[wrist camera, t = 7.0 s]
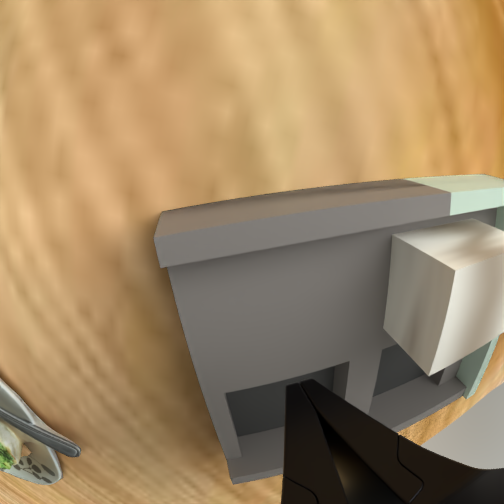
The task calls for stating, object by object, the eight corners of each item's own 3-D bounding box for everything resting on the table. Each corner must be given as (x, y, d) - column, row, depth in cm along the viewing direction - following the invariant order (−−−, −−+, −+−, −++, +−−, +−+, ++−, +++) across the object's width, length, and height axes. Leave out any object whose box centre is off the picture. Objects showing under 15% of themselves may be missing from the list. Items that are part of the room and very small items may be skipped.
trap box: (483, 174, 15) (531, 187, 11) (446, 366, 21) (474, 394, 17) (161, 211, 12) (151, 242, 8) (224, 443, 18) (234, 490, 14)
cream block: (473, 218, 13) (528, 242, 10) (459, 298, 15) (504, 331, 11) (392, 234, 12) (455, 270, 9) (383, 328, 14) (428, 376, 11)
